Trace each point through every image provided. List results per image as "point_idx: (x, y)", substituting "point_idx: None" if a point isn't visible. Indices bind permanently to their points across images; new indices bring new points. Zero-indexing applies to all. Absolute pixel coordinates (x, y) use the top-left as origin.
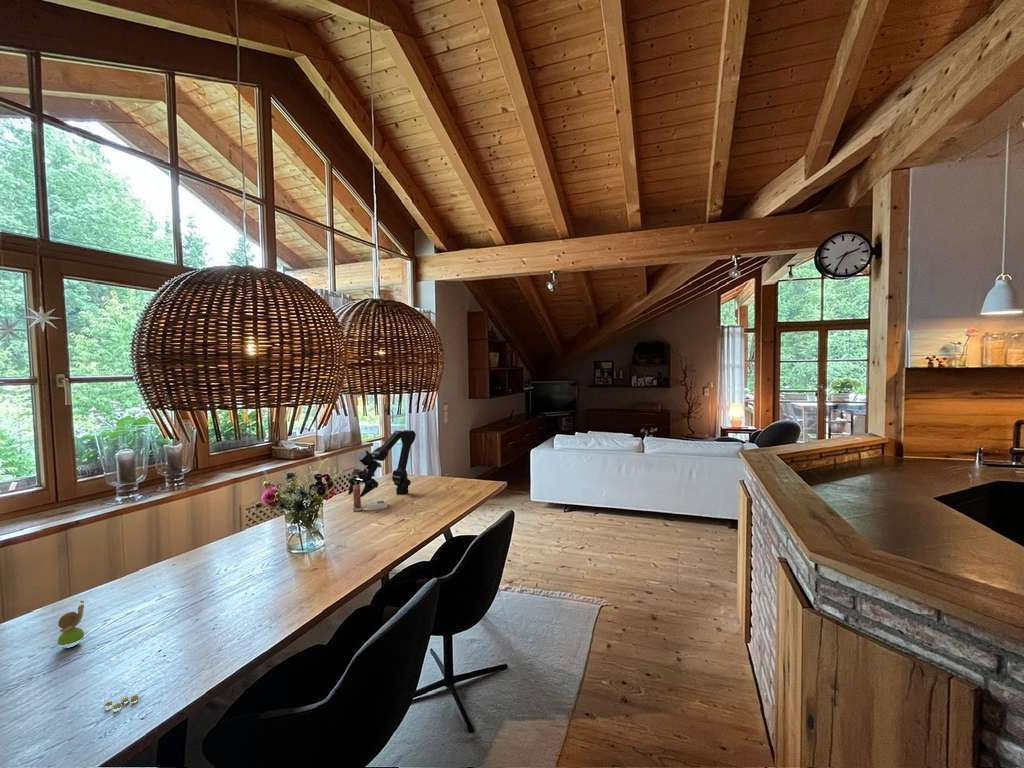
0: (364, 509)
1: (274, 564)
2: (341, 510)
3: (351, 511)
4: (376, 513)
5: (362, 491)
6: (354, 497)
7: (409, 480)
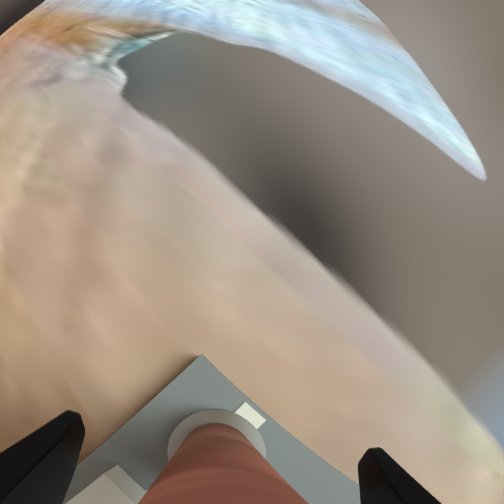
0: None
1: (170, 11)
2: (388, 428)
3: (249, 407)
4: None
5: (27, 456)
6: (218, 436)
7: None
